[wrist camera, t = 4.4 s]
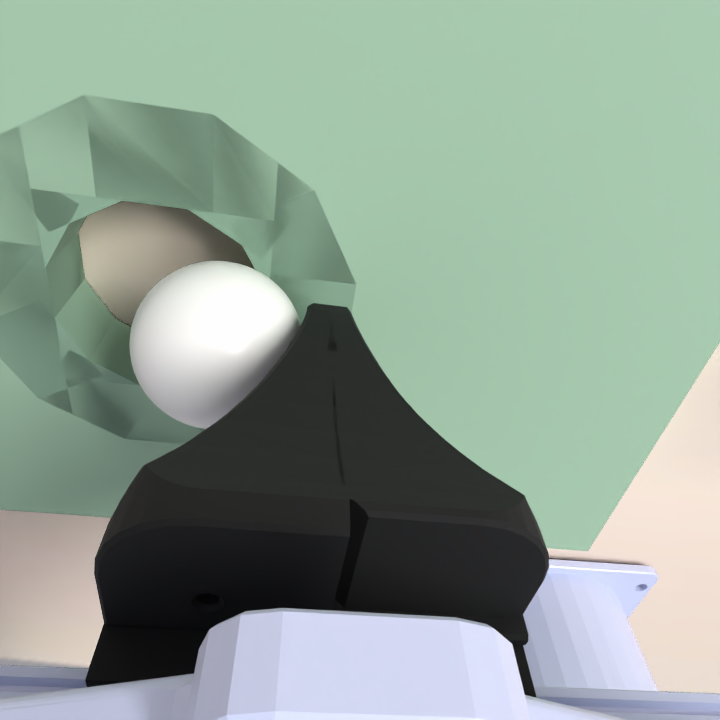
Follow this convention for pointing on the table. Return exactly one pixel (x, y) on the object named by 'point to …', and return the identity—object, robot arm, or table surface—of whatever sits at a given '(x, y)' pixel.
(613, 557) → the table surface
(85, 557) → the table surface
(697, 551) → the table surface
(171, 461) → the robot arm
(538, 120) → the deck
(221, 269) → the ball
